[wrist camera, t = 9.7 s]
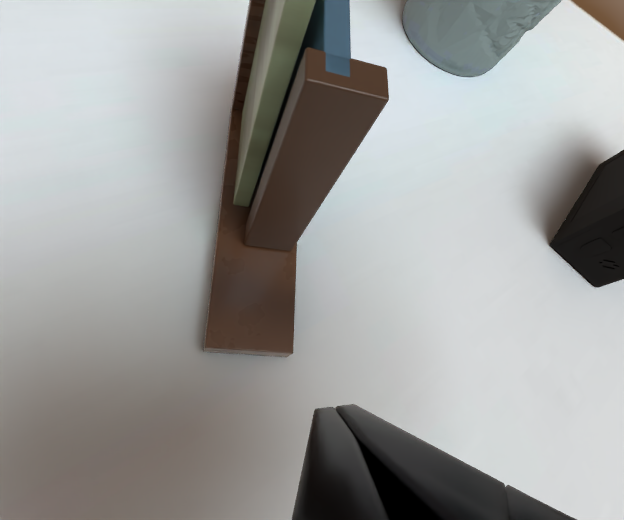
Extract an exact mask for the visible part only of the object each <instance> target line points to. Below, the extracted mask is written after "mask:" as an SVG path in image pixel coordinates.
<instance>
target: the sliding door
mask: <svg viewBox="0 0 624 520" xmlns="http://www.w3.org/2000/svg"><path fill="white" fill-rule="evenodd" d="M388 100H389V95H388V80H387V69H386V68H385V67H381V66H378V65H374V64H370V63H366V62H363V61H359V60H355V59H351V50H350V5H349V0H316V2H315V5H314V8H313V11H312V14H311V17H310V21H309V24H308V27H307V30H306V33H305V36H304V39H303V42H302V45H301V48H300V51H299V54H298V57H297V60H296V63H295V67H294V70H293V73H292V76H291V79H290V82H289V85H288V88H287V91H286V94H285V97H284V100H283V103H282V106H281V109H280V113H279V116H278V119H277V122H276V125H275V128H274V131H273V134H272V137H271V140H270V143H269V146H268V149H267V152H266V155H265V159H264V162H263V165H262V168H261V171H260V175H259V187H258V190H257V193H256V196H255V199H254V202H253V204H252V207H251V210H250V213H249V216H248V219H247V222H246V227H245V239H244V244H245V245H249V246H257V247H264V248H272V249H279V250H287V251H291V250H292V249H293V247H294V246H295V244H296V243H297V241H298V240H299V238H300V237H301V235H302V233H303V232H304V230H305V229H306V227H307V226H308V224H309V223H310V221H311V219H312V218H313V216H314V215H315V213H316V212H317V210H318V209H319V207H320V206H321V204H322V202H323V201H324V199H325V198H326V196H327V195H328V193H329V192H330V190H331V189H332V187H333V185H334V184H335V182H336V181H337V179H338V178H339V176H340V175H341V173H342V172H343V170H344V168H345V167H346V165H347V164H348V162H349V161H350V159H351V158H352V156H353V154H354V153H355V151H356V150H357V148H358V147H359V145H360V144H361V142H362V141H363V139H364V137H365V136H366V134H367V133H368V131H369V130H370V128H371V127H372V125H373V124H374V122H375V120H376V119H377V117H378V116H379V114H380V113H381V111H382V110H383V108H384V106H385V105H386V103H387V102H388Z"/></svg>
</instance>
